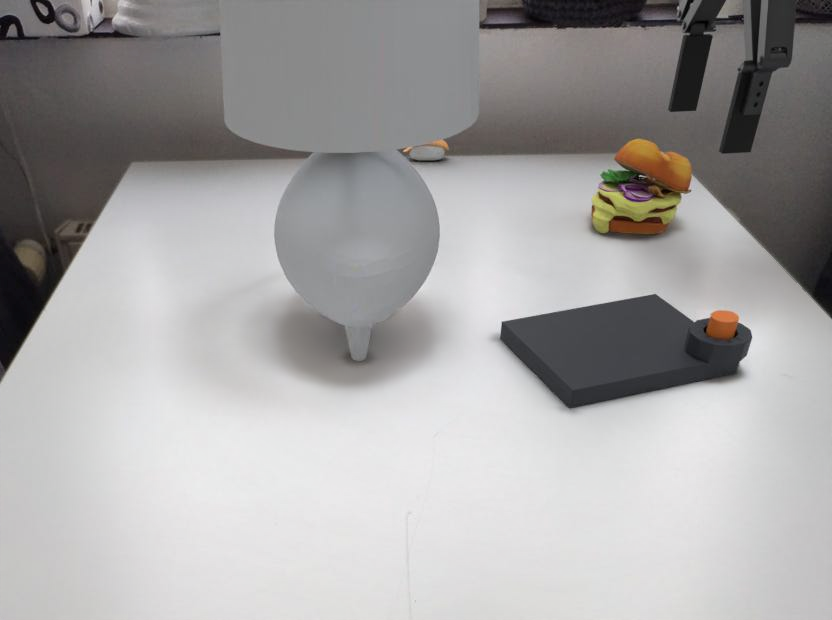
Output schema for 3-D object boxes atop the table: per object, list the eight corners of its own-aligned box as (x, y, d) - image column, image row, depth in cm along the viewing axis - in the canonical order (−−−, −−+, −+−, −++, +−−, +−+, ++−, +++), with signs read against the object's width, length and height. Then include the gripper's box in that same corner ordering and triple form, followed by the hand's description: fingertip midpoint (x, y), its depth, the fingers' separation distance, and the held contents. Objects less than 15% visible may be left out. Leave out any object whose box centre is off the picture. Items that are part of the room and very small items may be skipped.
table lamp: (475, 383, 81) (527, -234, 52) (238, 389, 81) (161, -223, 53) (453, 278, 97) (484, -237, 69) (255, 283, 97) (204, -229, 69)
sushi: (448, 162, 124) (449, 138, 122) (402, 162, 125) (403, 138, 123) (448, 156, 126) (449, 132, 124) (402, 156, 127) (403, 133, 124)
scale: (661, 308, 91) (669, 274, 88) (752, 375, 81) (764, 338, 78) (499, 338, 87) (503, 303, 84) (574, 412, 77) (581, 375, 74)
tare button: (723, 326, 81) (728, 308, 80) (739, 338, 79) (745, 319, 78) (700, 331, 80) (705, 312, 79) (716, 342, 79) (721, 323, 77)
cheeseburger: (565, 218, 108) (594, 126, 102) (628, 224, 113) (659, 136, 107) (620, 245, 102) (654, 148, 96) (684, 250, 107) (720, 158, 101)
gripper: (675, -170, 81) (629, 97, 96) (800, -149, 63) (718, 174, 78) (756, -173, 81) (697, 93, 96) (902, -153, 63) (801, 169, 78)
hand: (706, 130), depth 87 cm, fingers open, 13 cm apart
